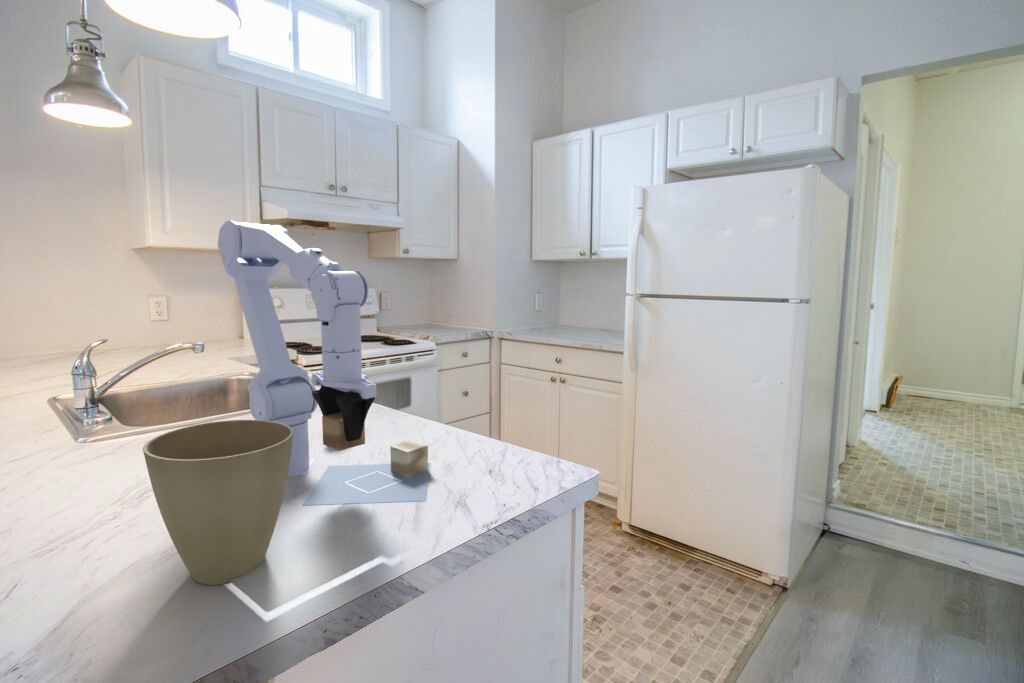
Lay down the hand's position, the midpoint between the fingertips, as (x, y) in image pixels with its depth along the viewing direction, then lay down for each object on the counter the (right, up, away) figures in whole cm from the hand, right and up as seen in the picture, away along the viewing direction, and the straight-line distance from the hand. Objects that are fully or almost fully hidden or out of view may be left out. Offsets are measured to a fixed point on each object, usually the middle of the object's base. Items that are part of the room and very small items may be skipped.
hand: (344, 436), depth 81 cm
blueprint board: (+3, -9, +5) cm, 11 cm away
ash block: (+8, -8, +10) cm, 15 cm away
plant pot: (-7, -12, -19) cm, 24 cm away
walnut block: (0, -1, 0) cm, 1 cm away
